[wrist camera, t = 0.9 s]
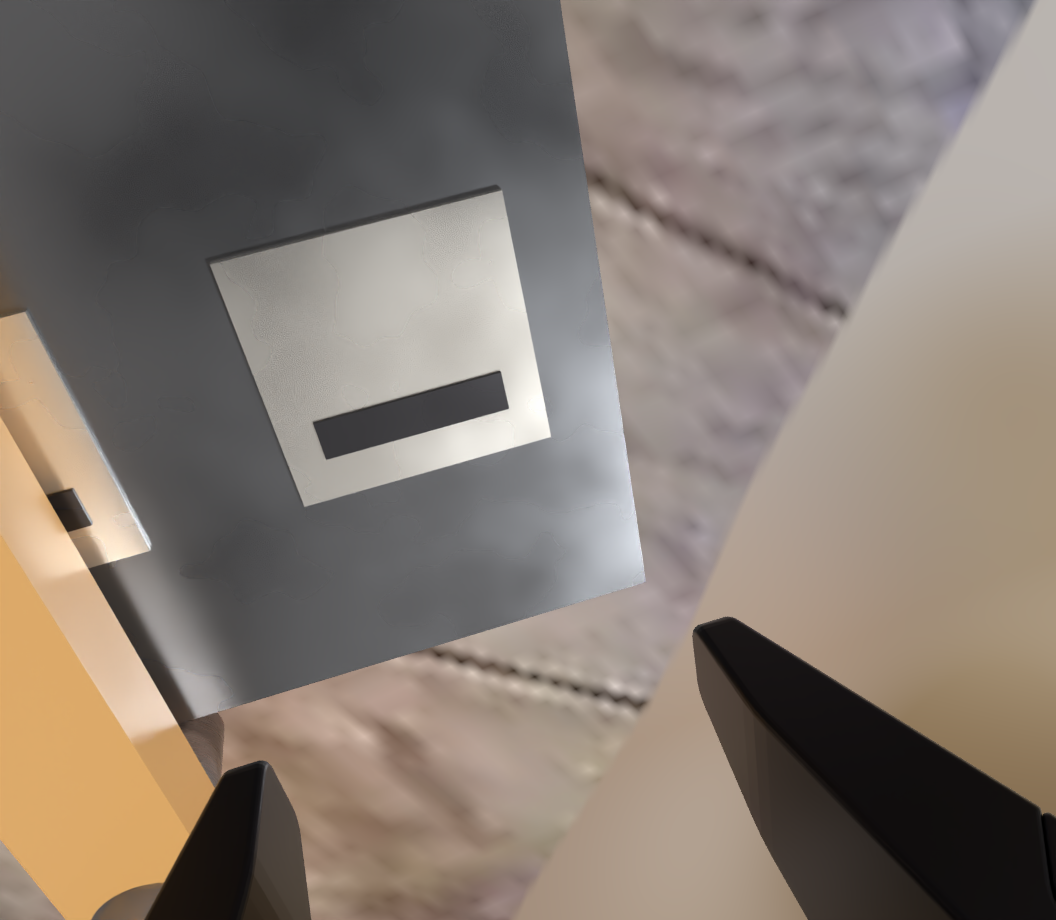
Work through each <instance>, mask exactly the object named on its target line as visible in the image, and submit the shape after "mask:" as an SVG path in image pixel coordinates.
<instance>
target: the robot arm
mask: <svg viewBox="0 0 1056 920" xmlns="http://www.w3.org/2000/svg"><path fill="white" fill-rule="evenodd" d="M692 637H693V647H694V656H695V664H696V673H697V681H698V686H699V691H700V694H701V697H702V700H703V703H704V705H705V708H706V710H707V712H708V715H709V717H710V719H711V721H712V724H713V726H714V729H715V731H716V733H717V736H718V738H719V740H720V743H721V745H722V747H723V750H724V752H725V754H726V757H727V759H728V761H729V764H730V766H731V768H732V770H733V773H734V775H735V778H736V780H737V782H738V785H739V787H740V789H741V792H742V794H743V796H744V799H745V801H746V803H747V806H748V808H749V810H750V813H751V815H752V817H753V819H754V821H755V824H756V826H757V828H758V830H759V832H760V835H761V837H762V838H763V840H764V842H765V844H766V846H767V848H768V850H769V852H770V854H771V856H772V857H773V859H774V861H775V863H776V865H777V866H778V868H779V870H780V871H781V873H782V875H783V877H784V879H785V880H786V882H787V884H788V886H789V887H790V889H791V891H792V892H793V894H794V896H795V898H796V900H797V901H798V903H799V905H800V906H801V908H802V910H803V912H804V913H805V915H806V917H807V919H808V920H1056V817H1055V816H1054V815H1052V814H1051V813H1044V814H1043V815H1042V813H1041V809H1040V807H1038V806H1037V805H1036V804H1034V803H1032V802H1031V801H1029V800H1027V799H1026V798H1024V797H1022V796H1021V795H1019V794H1018V793H1016V792H1015V791H1013V790H1011V789H1010V788H1008V787H1006V786H1005V785H1003V784H1001V783H1000V782H998V781H997V780H995V779H993V778H992V777H990V776H989V775H987V774H986V773H984V772H982V771H981V770H979V769H977V768H976V767H974V766H973V765H971V764H969V763H968V762H966V761H964V760H963V759H961V758H960V757H958V756H956V755H955V754H953V753H952V752H950V751H948V750H947V749H945V748H944V747H942V746H940V745H939V744H937V743H936V742H934V741H932V740H931V739H929V738H927V737H926V736H924V735H923V734H921V733H919V732H918V731H916V730H915V729H913V728H911V727H910V726H908V725H907V724H905V723H903V722H901V721H900V720H899V719H897V718H895V717H894V716H892V715H890V714H889V713H887V712H886V711H884V710H882V709H881V708H879V707H878V706H876V705H874V704H873V703H871V702H869V701H868V700H866V699H865V698H863V697H861V696H860V695H858V694H857V693H855V692H853V691H852V690H850V689H848V688H847V687H845V686H843V685H842V684H840V683H839V682H837V681H836V680H834V679H832V678H831V677H829V676H828V675H826V674H824V673H823V672H821V671H820V670H818V669H816V668H815V667H813V666H811V665H810V664H808V663H807V662H805V661H803V660H802V659H800V658H798V657H797V656H795V655H794V654H792V653H790V652H789V651H787V650H786V649H784V648H782V647H781V646H779V645H778V644H776V643H774V642H773V641H771V640H769V639H768V638H766V637H765V636H763V635H761V634H760V633H758V632H757V631H755V630H753V629H752V628H750V627H748V626H747V625H745V624H744V623H742V622H741V621H739V620H737V619H735V618H733V617H723V618H720V619H717V620H713V621H710V622H707V623H704V624H700V625H698V626H697V627H695V629H694V630H693V636H692ZM144 920H311V915H310V907H309V899H308V891H307V883H306V875H305V867H304V859H303V851H302V843H301V835H300V829H299V824H298V820H297V817H296V814H295V811H294V809H293V807H292V805H291V803H290V801H289V799H288V797H287V795H286V793H285V791H284V789H283V787H282V785H281V784H280V782H279V780H278V778H277V776H276V774H275V772H274V770H273V768H272V767H271V765H270V764H269V763H268V762H266V761H257V762H253V763H250V764H247V765H244V766H240V767H237V768H234V769H231V770H228V771H227V772H225V773H224V774H223V776H222V777H221V778H220V780H219V781H218V783H217V785H216V787H215V789H214V791H213V792H212V794H211V796H210V798H209V800H208V802H207V804H206V805H205V807H204V809H203V811H202V813H201V815H200V816H199V818H198V820H197V822H196V824H195V826H194V828H193V829H192V831H191V833H190V835H189V837H188V839H187V840H186V842H185V844H184V846H183V848H182V850H181V852H180V853H179V855H178V857H177V859H176V861H175V863H174V865H173V866H172V868H171V870H170V872H169V874H168V876H167V877H166V879H165V881H164V883H163V885H162V887H161V889H160V890H159V892H158V894H157V896H156V898H155V900H154V902H153V903H152V905H151V907H150V909H149V911H148V913H147V914H146V916H145V918H144Z"/></svg>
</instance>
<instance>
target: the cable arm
mask: <svg viewBox="0 0 1056 920" xmlns="http://www.w3.org/2000/svg"><path fill="white" fill-rule="evenodd" d="M214 789H215V788H214V786H213V784H212V782H211V781H210V779H209V777H208V776H207V774H206V772H205V770H204V769H203V767H202V765H201V763H200V762H199V760H198V758H197V756H196V755H195V753H194V751H193V750H192V748H191V746H190V744H189V743H188V741H187V739H186V737H185V736H184V734H183V732H182V730H181V729H180V727H179V725H178V724H177V722H176V720H175V718H174V717H173V715H172V713H171V711H170V710H169V708H168V706H167V704H166V703H165V701H164V699H163V698H162V696H161V694H160V692H159V691H158V689H157V687H156V685H155V684H154V682H153V680H152V679H151V677H150V675H149V673H148V672H147V670H146V668H145V666H144V665H143V663H142V661H141V659H140V658H139V656H138V654H137V653H136V651H135V649H134V647H133V646H132V644H131V642H130V640H129V639H128V637H127V635H126V633H125V632H124V630H123V628H122V627H121V625H120V623H119V621H118V620H117V618H116V616H115V614H114V613H113V611H112V609H111V607H110V606H109V604H108V602H107V601H106V599H105V597H104V595H103V594H102V592H101V590H100V588H99V587H98V585H97V583H96V581H95V580H94V578H93V576H92V575H91V573H90V571H89V569H88V568H87V566H86V564H85V562H84V561H83V559H82V557H81V556H80V554H79V552H78V550H77V549H76V547H75V545H74V543H73V542H72V540H71V538H70V536H69V535H68V533H67V531H66V530H65V528H64V526H63V524H62V523H61V521H60V519H59V517H58V516H57V514H56V512H55V510H54V509H53V507H52V505H51V504H50V502H49V500H48V498H47V497H46V495H45V493H44V491H43V490H42V488H41V486H40V484H39V483H38V481H37V479H36V478H35V476H34V474H33V472H32V471H31V469H30V467H29V465H28V464H27V462H26V460H25V459H24V457H23V455H22V453H21V452H20V450H19V448H18V446H17V445H16V443H15V441H14V439H13V438H12V436H11V434H10V433H9V431H8V429H7V427H6V426H5V424H4V422H3V420H2V419H1V417H0V840H1V841H2V842H3V843H4V845H5V846H6V847H7V848H8V850H9V851H10V852H11V853H12V854H13V856H14V857H15V858H16V859H17V861H18V862H19V863H20V864H21V865H22V867H23V868H24V869H25V870H26V872H27V873H28V874H29V875H30V876H31V878H32V879H33V880H34V881H35V883H36V884H37V885H38V886H39V888H40V889H41V890H42V891H43V892H44V894H45V895H46V896H47V897H48V899H49V900H50V901H51V902H52V903H53V905H54V906H55V907H56V908H57V910H58V911H59V912H60V913H61V914H62V916H63V917H64V918H65V919H66V920H144V918H145V916H146V914H147V913H148V911H149V909H150V907H151V905H152V903H153V902H154V900H155V898H156V896H157V894H158V892H159V890H160V889H161V887H162V885H163V883H164V881H165V879H166V877H167V876H168V874H169V872H170V870H171V868H172V866H173V865H174V863H175V861H176V859H177V857H178V855H179V853H180V852H181V850H182V848H183V846H184V844H185V842H186V840H187V839H188V837H189V835H190V833H191V831H192V829H193V828H194V826H195V824H196V822H197V820H198V818H199V816H200V815H201V813H202V811H203V809H204V807H205V805H206V804H207V802H208V800H209V798H210V796H211V794H212V792H213V791H214Z"/></svg>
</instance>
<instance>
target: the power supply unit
mask: <svg viewBox="0 0 1056 920" xmlns="http://www.w3.org/2000/svg"><path fill="white" fill-rule="evenodd" d="M0 417H1V419H2V420H3V422H4V424H5V426H6V427H7V429H8V431H9V433H10V434H11V436H12V438H13V439H14V441H15V443H16V445H17V446H18V448H19V450H20V452H21V453H22V455H23V457H24V459H25V460H26V462H27V464H28V465H29V467H30V469H31V471H32V472H33V474H34V476H35V478H36V479H37V481H38V483H39V484H40V486H41V488H42V490H43V491H44V493H45V495H46V497H47V498H48V500H49V502H50V504H51V505H52V507H53V509H54V510H55V512H56V514H57V516H58V517H59V519H60V521H61V523H62V524H63V526H64V528H65V530H66V531H67V533H68V535H69V536H70V538H71V540H72V542H73V543H74V545H75V547H76V549H77V550H78V552H79V554H80V556H81V557H82V559H83V561H84V562H85V564H86V566H87V568H88V569H89V571H90V573H91V575H92V576H93V578H94V580H95V581H96V583H97V585H98V587H99V588H100V590H101V592H102V594H103V595H104V597H105V599H106V601H107V602H108V604H109V606H110V607H111V609H112V611H113V613H114V614H115V616H116V618H117V620H118V621H119V623H120V625H121V627H122V628H123V630H124V632H125V633H126V635H127V637H128V639H129V640H130V642H131V644H132V646H133V647H134V649H135V651H136V653H137V654H138V656H139V658H140V659H141V661H142V663H143V665H144V666H145V668H146V670H147V672H148V673H149V675H150V677H151V679H152V680H153V682H154V684H155V685H156V687H157V689H158V691H159V692H160V694H161V696H162V698H163V699H164V701H165V703H166V704H167V706H168V708H169V710H170V711H171V713H172V715H173V717H174V718H175V720H176V722H177V724H178V725H179V727H180V729H181V730H182V732H183V734H184V736H185V737H186V739H187V741H188V743H189V744H190V746H191V748H192V750H193V751H194V753H195V755H196V756H197V758H198V760H199V762H200V763H201V765H202V767H203V769H204V770H205V772H206V774H207V776H208V777H209V779H210V781H211V782H212V784H213V786H214V788H215V787H216V785H217V783H218V781H219V780H220V778H221V773H222V757H223V742H224V723H223V720H222V718H221V717H220V716H219V714H218V713H217V712H219V711H223V710H226V709H229V708H233V707H236V706H239V705H242V704H246V703H249V702H252V701H256V700H259V699H262V698H266V697H269V696H272V695H275V694H279V693H282V692H285V691H289V690H292V689H295V688H298V687H302V686H305V685H308V684H312V683H315V682H318V681H322V680H325V679H328V678H331V677H335V676H338V675H341V674H345V673H348V672H351V671H355V670H358V669H361V668H364V667H368V666H371V665H374V664H378V663H381V662H384V661H387V660H391V659H394V658H397V657H401V656H404V655H407V654H411V653H414V652H417V651H420V650H424V649H427V648H430V647H434V646H437V645H440V644H444V643H447V642H450V641H453V640H457V639H460V638H463V637H467V636H470V635H473V634H476V633H480V632H483V631H486V630H490V629H493V628H496V627H500V626H503V625H506V624H509V623H513V622H516V621H519V620H523V619H526V618H529V617H533V616H536V615H539V614H542V613H546V612H549V611H552V610H556V609H559V608H562V607H566V606H569V605H572V604H575V603H579V602H582V601H585V600H589V599H592V598H595V597H598V596H602V595H605V594H608V593H612V592H615V591H618V590H622V589H625V588H628V587H631V586H635V585H638V584H641V583H645V582H646V580H645V573H644V566H643V560H642V553H641V546H640V539H639V532H638V526H637V519H636V512H635V505H634V499H633V492H632V485H631V478H630V472H629V465H628V458H627V451H626V444H625V438H624V431H623V424H622V417H621V411H620V404H619V397H618V390H617V384H616V377H615V370H614V363H613V356H612V350H611V343H610V336H609V329H608V323H607V316H606V309H605V302H604V295H603V289H602V282H601V275H600V268H599V262H598V255H597V248H596V241H595V235H594V228H593V221H592V214H591V207H590V201H589V194H588V187H587V180H586V174H585V167H584V160H583V153H582V147H581V140H580V133H579V126H578V119H577V113H576V106H575V99H574V92H573V86H572V79H571V72H570V65H569V59H568V52H567V45H566V38H565V31H564V25H563V18H562V11H561V4H560V0H0Z"/></svg>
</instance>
